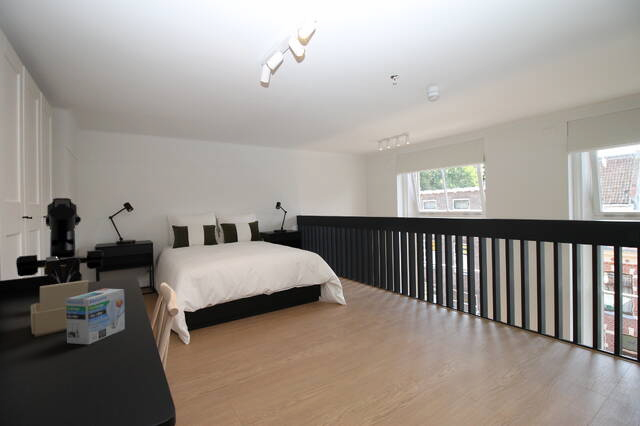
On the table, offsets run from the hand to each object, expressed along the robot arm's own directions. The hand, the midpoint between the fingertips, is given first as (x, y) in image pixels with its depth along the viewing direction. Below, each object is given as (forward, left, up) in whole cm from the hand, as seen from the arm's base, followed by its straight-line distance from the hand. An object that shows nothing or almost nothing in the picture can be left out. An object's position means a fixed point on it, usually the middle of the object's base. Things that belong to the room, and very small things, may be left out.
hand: (63, 286), depth 82 cm
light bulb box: (+13, +5, -12) cm, 18 cm away
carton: (-5, 0, -11) cm, 13 cm away
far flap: (+3, 0, -2) cm, 4 cm away
